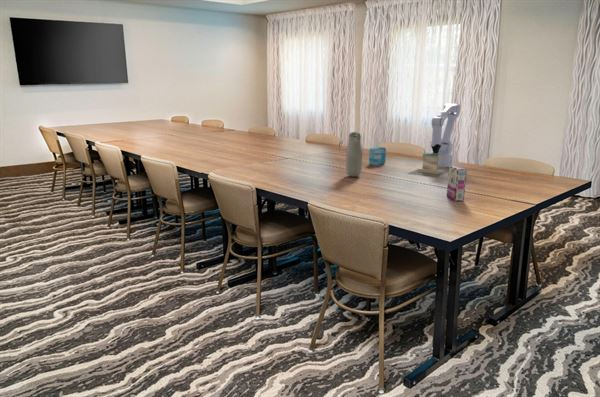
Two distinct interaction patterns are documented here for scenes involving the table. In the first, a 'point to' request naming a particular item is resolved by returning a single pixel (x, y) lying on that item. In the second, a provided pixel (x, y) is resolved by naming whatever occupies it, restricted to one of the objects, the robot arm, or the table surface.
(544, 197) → the table surface
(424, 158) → the ash slab
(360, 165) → the glass bottle
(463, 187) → the candy bar box
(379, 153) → the data package
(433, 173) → the rubber mat
